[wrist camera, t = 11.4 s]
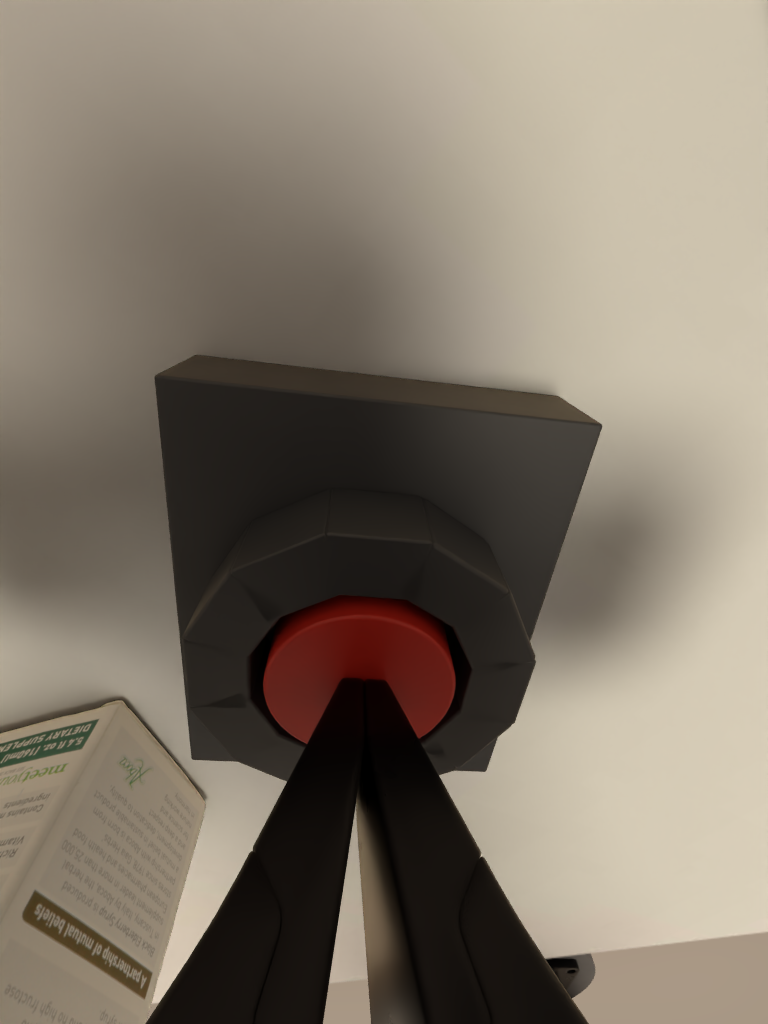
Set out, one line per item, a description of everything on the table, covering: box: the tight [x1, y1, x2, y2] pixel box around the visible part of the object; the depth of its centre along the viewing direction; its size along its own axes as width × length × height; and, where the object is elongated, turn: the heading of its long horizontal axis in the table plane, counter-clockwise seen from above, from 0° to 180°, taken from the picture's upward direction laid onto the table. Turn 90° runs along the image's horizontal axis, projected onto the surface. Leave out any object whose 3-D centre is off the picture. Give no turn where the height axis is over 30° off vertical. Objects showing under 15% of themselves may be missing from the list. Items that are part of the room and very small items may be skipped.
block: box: [155, 355, 602, 781], centre depth 11 cm, size 10×8×4 cm
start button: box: [263, 595, 456, 744], centre depth 10 cm, size 4×4×2 cm
